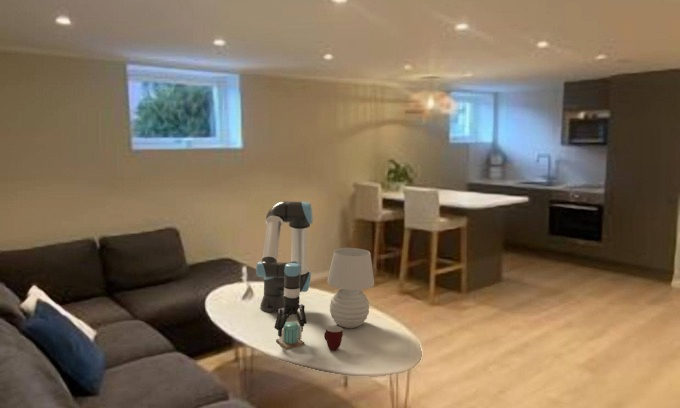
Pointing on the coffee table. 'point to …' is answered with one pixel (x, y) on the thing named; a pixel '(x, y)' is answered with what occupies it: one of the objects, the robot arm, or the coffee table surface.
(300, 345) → the post base
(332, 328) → the mug
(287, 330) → the cap
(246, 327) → the coffee table surface
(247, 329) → the coffee table surface
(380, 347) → the coffee table surface
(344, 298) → the table lamp
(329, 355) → the coffee table surface
